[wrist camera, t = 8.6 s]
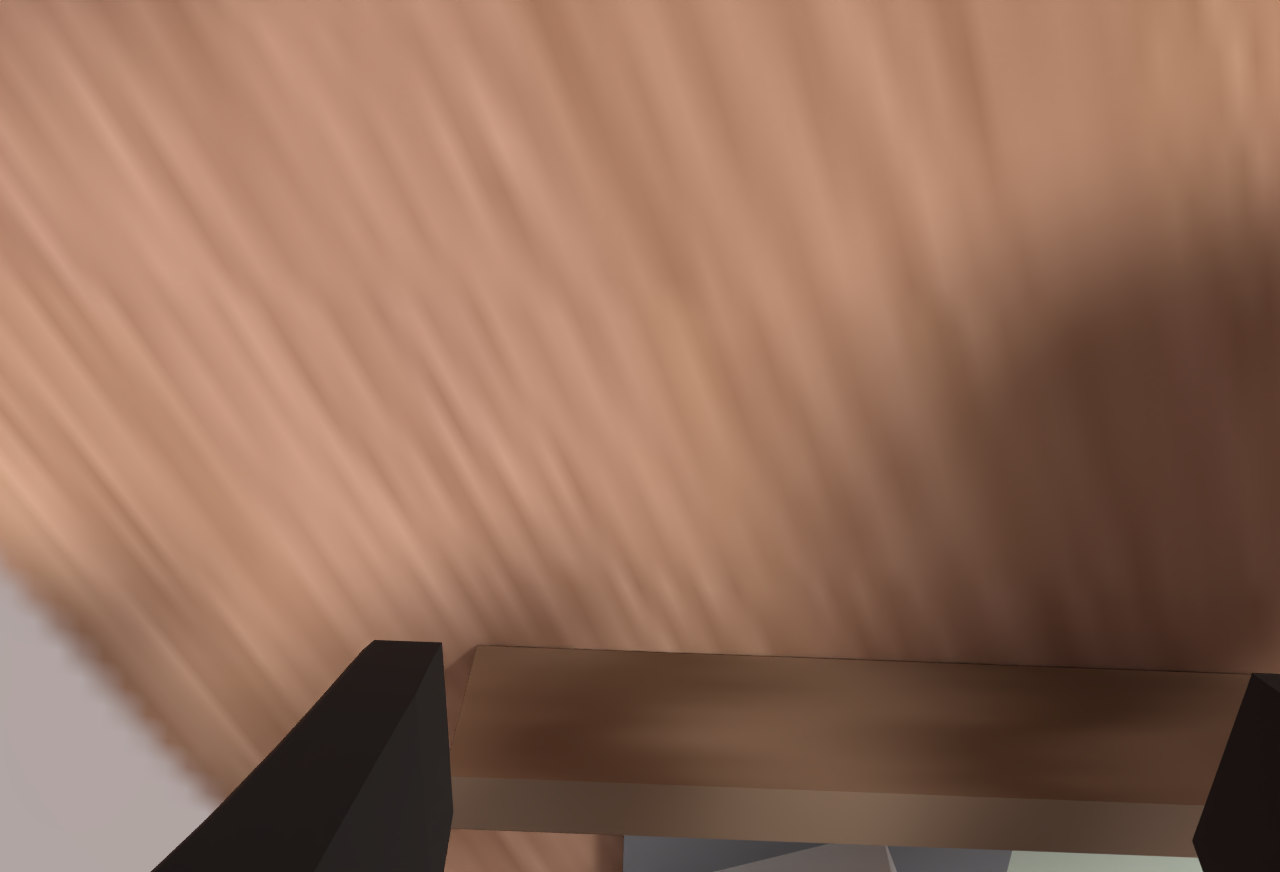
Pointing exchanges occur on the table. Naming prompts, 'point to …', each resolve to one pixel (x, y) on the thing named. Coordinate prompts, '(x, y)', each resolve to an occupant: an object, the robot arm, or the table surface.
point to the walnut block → (839, 750)
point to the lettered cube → (826, 860)
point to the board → (689, 864)
